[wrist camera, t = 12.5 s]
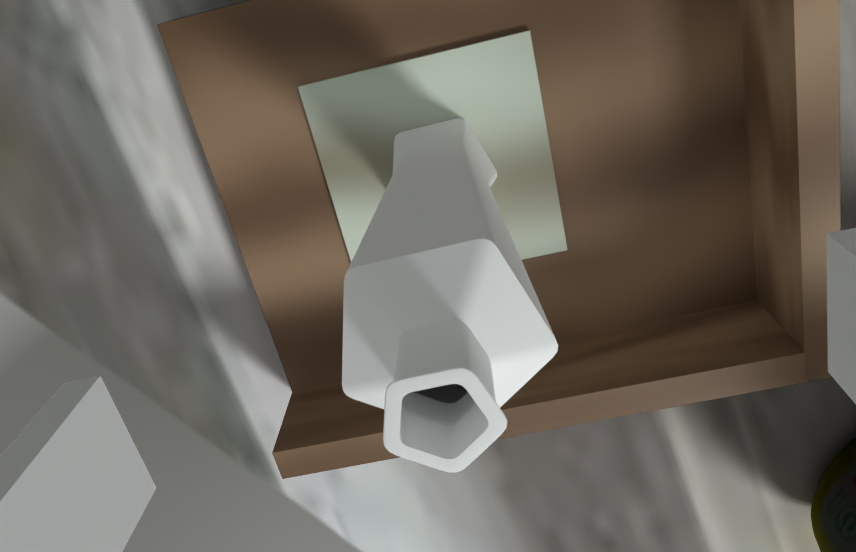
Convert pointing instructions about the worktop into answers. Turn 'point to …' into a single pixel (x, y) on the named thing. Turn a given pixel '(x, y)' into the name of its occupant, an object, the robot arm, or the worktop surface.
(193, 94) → the brown wooden flat tray
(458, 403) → the white faceted vase
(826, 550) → the bottle
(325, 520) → the worktop surface
